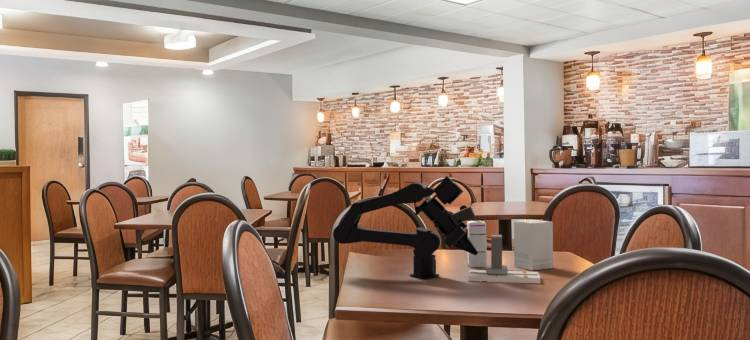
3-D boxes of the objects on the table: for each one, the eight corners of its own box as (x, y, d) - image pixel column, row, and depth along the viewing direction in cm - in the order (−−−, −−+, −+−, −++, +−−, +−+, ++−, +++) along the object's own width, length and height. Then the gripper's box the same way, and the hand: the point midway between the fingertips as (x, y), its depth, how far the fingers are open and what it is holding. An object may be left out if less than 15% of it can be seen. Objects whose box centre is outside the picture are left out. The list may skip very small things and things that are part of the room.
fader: (486, 273, 170) (485, 236, 169) (486, 269, 176) (486, 234, 175) (507, 274, 169) (507, 237, 168) (506, 270, 174) (506, 234, 174)
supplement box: (554, 268, 188) (554, 221, 187) (531, 271, 184) (531, 222, 184) (534, 264, 196) (534, 218, 196) (513, 266, 192) (513, 220, 192)
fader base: (468, 281, 169) (468, 274, 169) (469, 274, 178) (469, 268, 178) (540, 283, 165) (540, 277, 165) (537, 277, 174) (537, 271, 174)
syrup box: (487, 267, 190) (487, 222, 190) (468, 267, 190) (468, 222, 190) (484, 264, 196) (484, 220, 195) (466, 264, 196) (466, 220, 195)
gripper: (456, 198, 165) (497, 239, 163) (460, 194, 183) (496, 231, 181) (428, 226, 166) (468, 267, 164) (434, 219, 185) (470, 256, 183)
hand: (476, 254), depth 173 cm, fingers closed
